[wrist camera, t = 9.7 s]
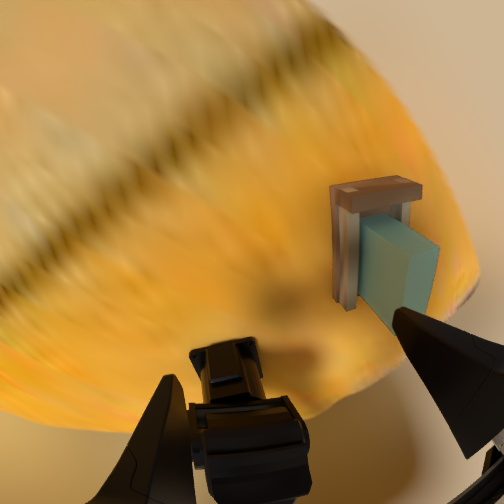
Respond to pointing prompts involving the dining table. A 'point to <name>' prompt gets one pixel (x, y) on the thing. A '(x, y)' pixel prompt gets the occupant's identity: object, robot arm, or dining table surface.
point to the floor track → (347, 224)
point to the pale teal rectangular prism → (394, 266)
